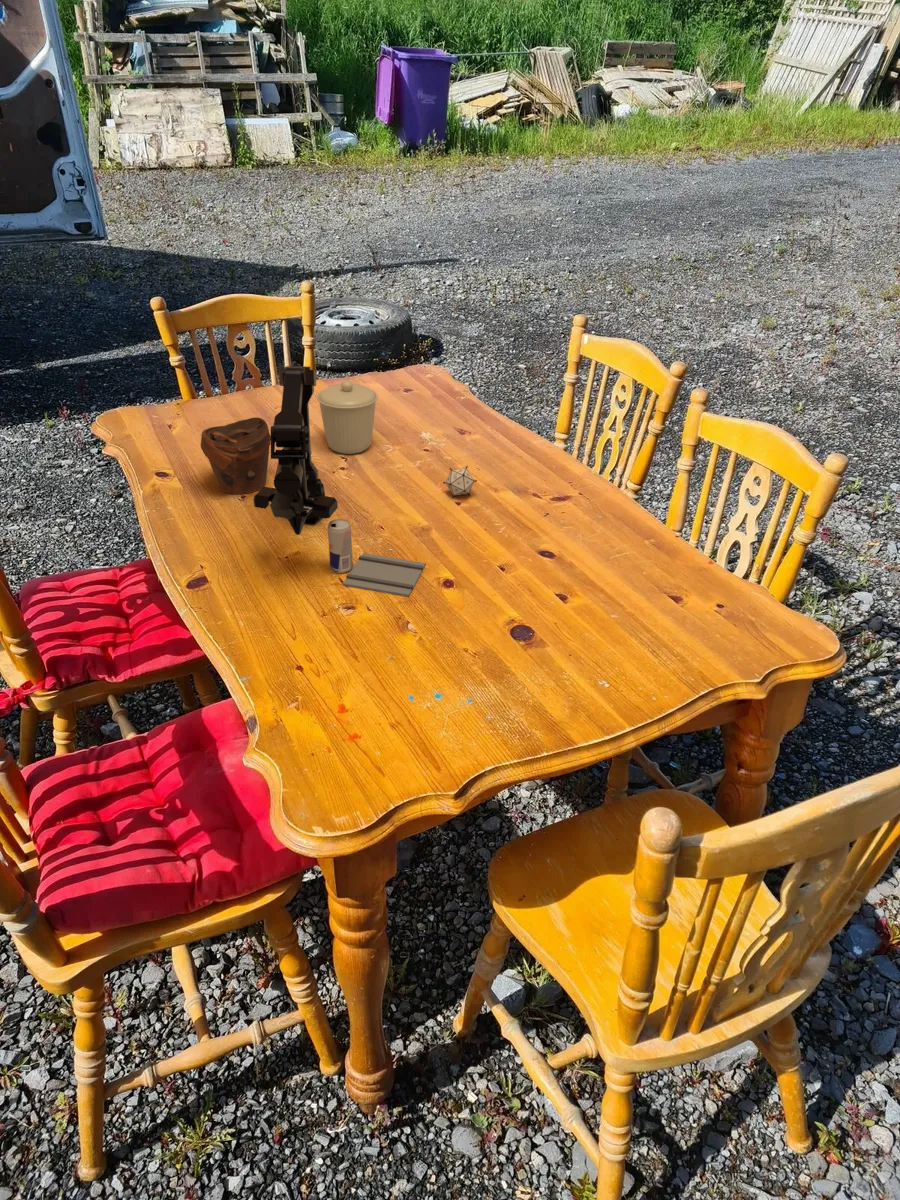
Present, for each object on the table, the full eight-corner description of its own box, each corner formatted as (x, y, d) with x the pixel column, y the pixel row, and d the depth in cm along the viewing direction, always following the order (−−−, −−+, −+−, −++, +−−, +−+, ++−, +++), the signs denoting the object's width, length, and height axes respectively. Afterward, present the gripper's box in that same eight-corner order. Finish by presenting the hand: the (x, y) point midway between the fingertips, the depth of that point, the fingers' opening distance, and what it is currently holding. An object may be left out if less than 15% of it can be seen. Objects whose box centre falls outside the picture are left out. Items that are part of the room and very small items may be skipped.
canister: (335, 464, 238) (331, 396, 226) (310, 442, 250) (305, 376, 238) (389, 452, 246) (388, 385, 234) (362, 431, 259) (360, 366, 246)
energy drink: (330, 562, 194) (327, 518, 188) (352, 561, 195) (350, 518, 188) (329, 574, 190) (326, 530, 183) (352, 573, 191) (350, 529, 184)
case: (192, 493, 221) (183, 432, 210) (234, 464, 236) (227, 406, 226) (247, 507, 216) (241, 445, 205) (287, 477, 231) (282, 418, 221)
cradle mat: (342, 585, 186) (342, 581, 186) (363, 554, 198) (363, 550, 197) (408, 596, 183) (408, 592, 183) (425, 565, 194) (425, 561, 194)
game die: (463, 508, 226) (472, 493, 217) (436, 496, 225) (443, 479, 216) (475, 483, 229) (484, 467, 220) (448, 470, 229) (455, 453, 219)
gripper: (238, 484, 177) (246, 544, 186) (317, 496, 173) (322, 557, 182) (260, 463, 185) (267, 521, 194) (336, 474, 182) (340, 533, 191)
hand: (298, 534), depth 190 cm, fingers closed
